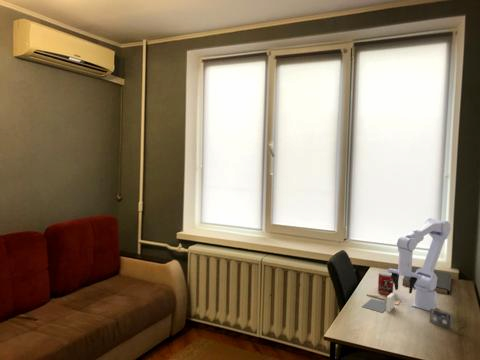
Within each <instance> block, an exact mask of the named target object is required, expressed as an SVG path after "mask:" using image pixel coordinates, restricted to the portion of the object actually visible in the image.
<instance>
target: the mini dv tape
mask: <svg viewBox="0 0 480 360" xmlns="http://www.w3.org/2000/svg"><path fill="white" fill-rule="evenodd" d="M452 317H453V316H452V314H451V313H447V312H443V311H440V310H437V309H430V311H429V323H432V324H435V325H437V326H440V327H444V328H446V329H451V328H452V327H451V326H452Z"/></svg>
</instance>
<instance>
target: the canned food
mask: <svg viewBox="0 0 480 360" xmlns="http://www.w3.org/2000/svg"><path fill="white" fill-rule="evenodd" d="M391 275H392V273H388V270H380V271H378V279H377V280H378V281H377V292H378V293H379V294H380V295H383V296H388V295H390V294H391V293H394V282H393V279H392V277H391Z"/></svg>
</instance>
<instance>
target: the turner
mask: <svg viewBox="0 0 480 360" xmlns="http://www.w3.org/2000/svg"><path fill="white" fill-rule="evenodd" d="M366 296H367V297H371V298H373V299H377V300H380V301H384V302H387V297H382V296H378V295H375V294H371V293H366ZM400 303H401V301H400V300H396V299H395V301H394V306H397V305H399V304H400Z"/></svg>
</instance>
